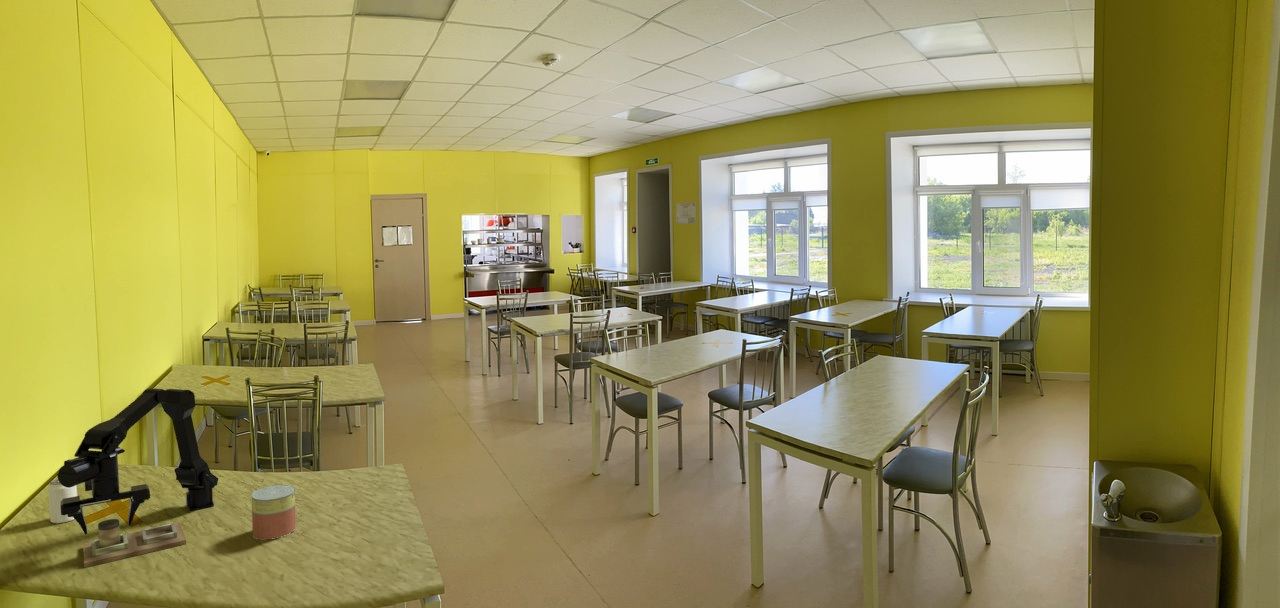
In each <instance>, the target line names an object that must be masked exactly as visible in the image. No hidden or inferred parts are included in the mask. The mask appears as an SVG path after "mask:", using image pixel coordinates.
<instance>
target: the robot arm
mask: <svg viewBox="0 0 1280 608" xmlns="http://www.w3.org/2000/svg"><path fill="white" fill-rule="evenodd" d="M160 404H161V407H162V409H163V412H164V413H165V414H167V416H168V417H169V418H170V419H171V421H172V425H173V429H174V435H175V439H176V444H177V448H178V453H179V457H180V462H179V464H178V466H177V467H175V468H174V473H175V480H176V481H178V483H179V484H180V485H181V489H187V491H186V492H185V505H186V508H188V510H189V511H196V510H200V509H206V508H210V507H214V506H215V503H214V501H213V500H214V499H213V498H214V497H213V489H215V487H216V486H218V484H219V483H218V482H219V478H218V477H217V476H216V475H215V474H213V473H212V472H211V469H210V467H209V465H208V463H207V462H206V460H205V459H204V458H202V457H201V454H200V450H199V446H198V441H197V440H198V439H197V436H196V432H195V426H194V422H193V418H192V417H193V416H192V414H193V412H194V410H195V408H196V396H195V393H194V391H192V390H190V389H179V388H168V389H167V388H166V389H163V388H154V387H152V388H151V387H149V388H147V389H145V390H144V391H143V392H142V393H141V395H139V396H138V397H137V398H136V399H134V400H133V401H132V402H131V403H129V405H127V406H126V407H125V408H123V409H122V410H121V411H119V413H118V414H116V415H115V416H113V417H112V418H111V419H108V420H105V421H102V422H100V423H97V424H96V425H94V426H92V427H91V428H89V429H87V431H86V432H85V433H84V437H83V439H82V441H81V442H80V445H79V446H78V448H77V450H76V451H75V454H74V457H75V458H72V459H67V460H64V461H63V466H61V467H60V468H59V469H58V473H57V474H56V475H57V479H58V480H59V482H60V483H61V484H62V485H63V486H64V487H68V488H69V487H73V486H78V485H80V484H83V483H84V491H85V492H89V491H91V496H92V497H88V498H83V499H81V498H80V497H81V495H77V496H76V497H70V498H64V499H62V501H61V505H60V507H61V515H68V517H73V518H74V520H75V521H76V523H78V525H79V526H80V528H81V530H82V531H83V533H84V535H85V536H86V535H88V528H87V524H86V523H87V522H86V519H85V514H84V510H83V507H88V506H89V507H90V506H93V505H100V504H104V503H111V502H115V501H120V500H126V499H129V507H128V515H127V516H128V517H127V521H128V523H127V524H128V526H131V525H132V522H133V519H134V517H135V514H136V512H137V510H138V509H139V507H140V505H141V504H144V503H145V500H149V499H151V490H150V486H149V485H148V484H146V483H143V484H139V485H138V484H137V485H133V486H130V490H128V491H127V490H126V491H121V492H120V479H119V477H120V476H119V475H120V474H119V462H118V461H119V460H118V458H119V457H118V455H121V454H123V453H125V452H126V450H125V449H124V448H121V447H120V445H121V443H123V442H124V440H125V439H126V438H127V436H128V431H129V430H130V429H131V428H132V427H134V426H135V425H136V424H137V423H138V422H139V421H140V420H142V419H143V418H144V417H145V416H146V415H148V414H149V413H150V412H151V411H152V410H153V409H155V408H156V407H157V406H158V405H160Z"/></svg>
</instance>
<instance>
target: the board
mask: <svg viewBox="0 0 1280 608" xmlns="http://www.w3.org/2000/svg"><path fill="white" fill-rule="evenodd" d="M183 545H187V539H186V536H185V533H184V530H183V528H182V525H181V523H180V522H175V523H174V522H172V523H168V524H163V525H159V526H154V527H153V526H152V527H150V528H148V527H147V528H145V529H141V530H140V531H136V532H135V531H134V532H130V533H126V532H125V533H121V534H120V544H117V545H113V546H108V547H104V548H100V546H99V538H98V539H94V540H93V539H92V540H91V541H88V542H85V543H83V544H82V546H83V549H82V550H83V565H84V566H83V568H89V567H93V566H97V565H101V564H107V563H110V562H115V561H119V560H123V559H127V558H128V559H129V558H132V557H136V556H140V555H145V554H149V553H153V552H156V551H161V550H166V549H171V548H174V547H178V546H179V547H180V546H183Z"/></svg>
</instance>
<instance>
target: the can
mask: <svg viewBox="0 0 1280 608" xmlns="http://www.w3.org/2000/svg"><path fill="white" fill-rule="evenodd" d="M77 486H78V485H76V486H73V487H69V488H68V487H64V486H63V485H62V484H61V483H60V482H59V480H58V478H57V479H53V480H51V481H50V482H49V485H48V488H47V494H48V496H47V497H48V509H49V520H50V522H51V523H52V524H63V523H69V522H72V521H74V520H75V519H74V518H73V517H68V515H61V507H60V505H61V501H62V499H64V498H70V497H76V496H78V488H77Z"/></svg>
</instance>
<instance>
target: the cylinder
mask: <svg viewBox="0 0 1280 608" xmlns="http://www.w3.org/2000/svg"><path fill="white" fill-rule="evenodd" d="M97 529H98V539H99V546H100V548H104V547H108V546H113V545H117V544H120V520H119V519H118V518H110V519H105V520H103V521H99V522H98V524H97Z"/></svg>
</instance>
